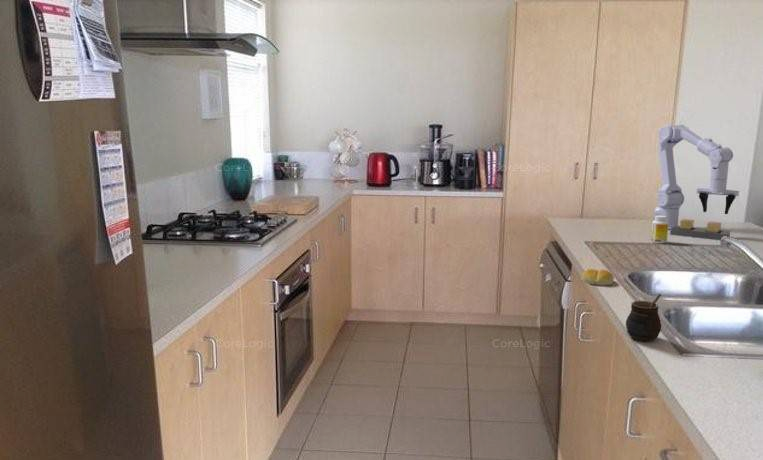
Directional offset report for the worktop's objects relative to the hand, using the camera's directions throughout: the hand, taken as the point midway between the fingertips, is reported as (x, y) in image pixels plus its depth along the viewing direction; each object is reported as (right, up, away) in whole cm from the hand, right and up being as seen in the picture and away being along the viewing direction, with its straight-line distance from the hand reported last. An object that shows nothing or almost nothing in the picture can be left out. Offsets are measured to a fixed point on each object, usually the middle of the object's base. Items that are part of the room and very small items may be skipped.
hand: (715, 212), depth 236 cm
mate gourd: (-74, -31, -103) cm, 131 cm away
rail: (-4, -9, +4) cm, 11 cm away
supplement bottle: (-25, -12, -6) cm, 28 cm away
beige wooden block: (-8, -9, +8) cm, 14 cm away
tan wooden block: (0, -10, +1) cm, 10 cm away
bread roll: (-68, -23, -58) cm, 92 cm away
